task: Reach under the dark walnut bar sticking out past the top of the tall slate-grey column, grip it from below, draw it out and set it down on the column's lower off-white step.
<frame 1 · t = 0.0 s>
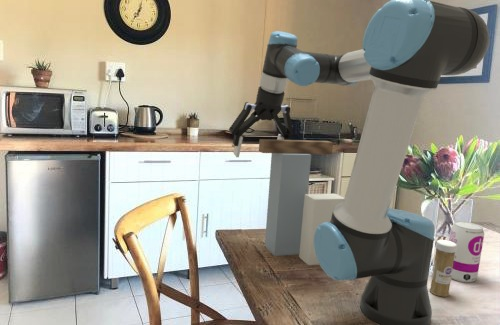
hand: (256, 155, 129), 28 cm above the table, tool tilted 20°, fingers open, 13 cm apart
walnut bar: (295, 152, 125), point 30 cm above the table, touching step stand
supplement can: (459, 277, 118), on the table
step stand: (284, 249, 129), on the table
sprinkles bottle: (439, 293, 107), on the table
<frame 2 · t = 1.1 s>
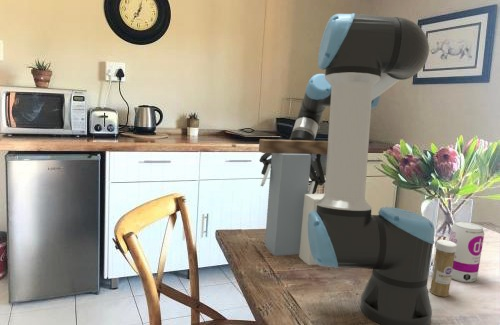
hand: (284, 194, 125), 18 cm above the table, tool tilted 40°
nothing on the table moved.
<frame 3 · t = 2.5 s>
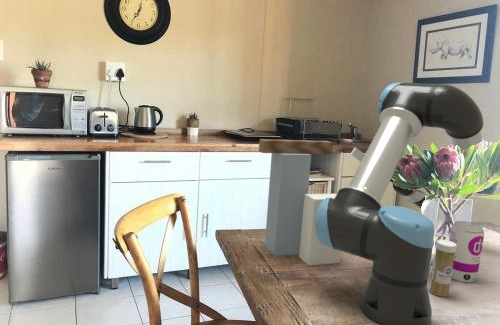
hand: (365, 154, 132), 30 cm above the table, tool pointing upward, fingers open, 13 cm apart
nothing on the table moved.
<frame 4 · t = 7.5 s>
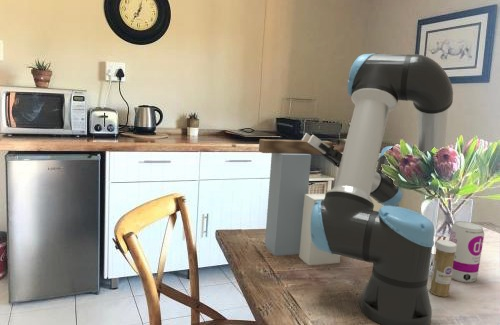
hand: (307, 137, 125), 34 cm above the table, tool pointing upward, fingers closed on walnut bar, 3 cm apart
walnut bar: (295, 152, 125), point 30 cm above the table, touching gripper, step stand
everything else where it was.
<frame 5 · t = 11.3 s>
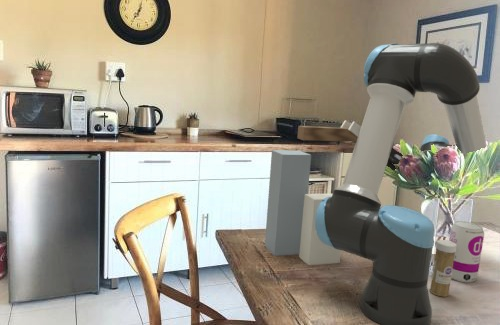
hand: (347, 125, 119), 39 cm above the table, tool pointing upward, fingers closed on walnut bar, 3 cm apart
walnut bar: (335, 140, 119), point 35 cm above the table, touching gripper
everything else where it was.
when the fingers open (25 cm above the table, at t = 15.2 s): walnut bar drops 2 cm, resting on step stand.
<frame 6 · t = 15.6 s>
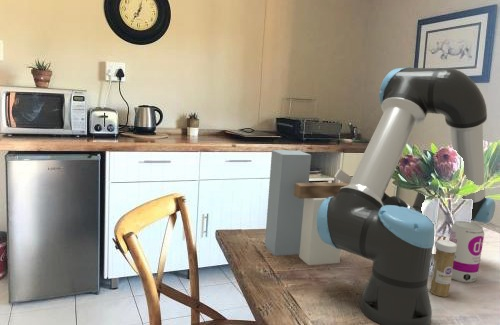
hand: (346, 176, 121), 25 cm above the table, tool pointing upward, fingers open, 10 cm apart
walnut bar: (331, 196, 121), point 19 cm above the table, touching step stand
everything else where it was.
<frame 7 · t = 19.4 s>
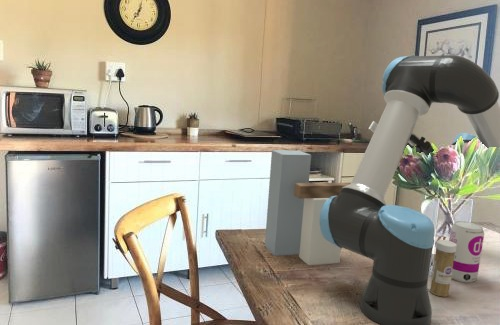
hand: (385, 127, 122), 39 cm above the table, tool pointing upward, fingers open, 13 cm apart
nothing on the table moved.
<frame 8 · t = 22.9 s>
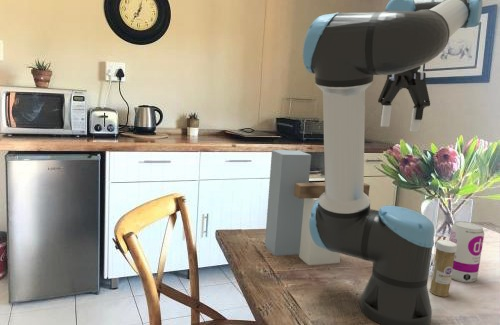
hand: (398, 129, 126), 39 cm above the table, tool pointing down, fingers open, 13 cm apart
nothing on the table moved.
at the end: walnut bar inside the target area on the step stand (0.1 cm from its centre), point 19.0 cm above the step stand's base; walnut bar tilted 0°; the gripper is holding nothing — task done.
